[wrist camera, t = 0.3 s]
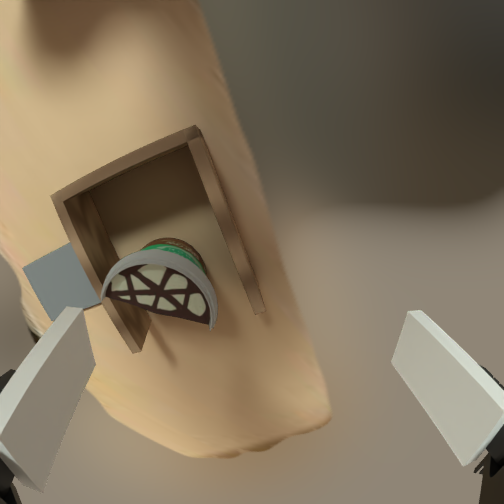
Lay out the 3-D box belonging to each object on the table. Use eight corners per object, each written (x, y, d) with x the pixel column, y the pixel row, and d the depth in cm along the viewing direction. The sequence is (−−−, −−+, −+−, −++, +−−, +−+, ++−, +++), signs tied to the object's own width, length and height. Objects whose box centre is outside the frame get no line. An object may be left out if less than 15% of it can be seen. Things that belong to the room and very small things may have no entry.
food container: (229, 243, 37) (234, 277, 27) (216, 288, 39) (216, 332, 29) (131, 216, 34) (102, 241, 25) (122, 262, 36) (95, 299, 27)
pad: (23, 267, 35) (22, 268, 34) (94, 230, 34) (93, 231, 34) (52, 319, 38) (51, 321, 37) (124, 292, 38) (124, 294, 37)
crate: (77, 186, 32) (50, 195, 26) (199, 129, 32) (195, 125, 26) (144, 322, 39) (132, 353, 33) (257, 283, 39) (265, 311, 32)
